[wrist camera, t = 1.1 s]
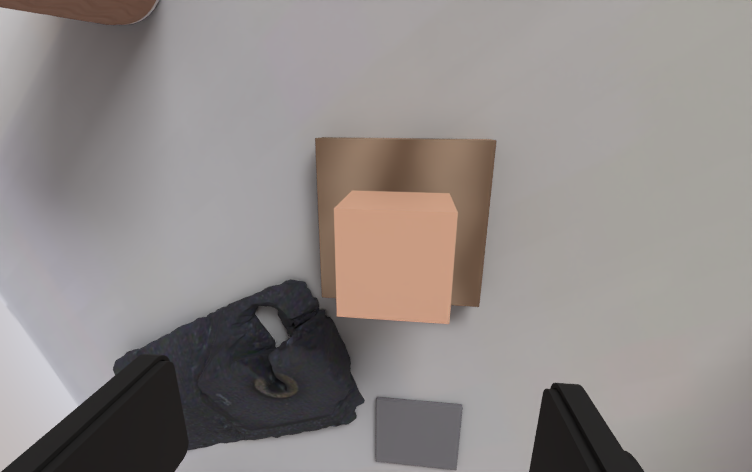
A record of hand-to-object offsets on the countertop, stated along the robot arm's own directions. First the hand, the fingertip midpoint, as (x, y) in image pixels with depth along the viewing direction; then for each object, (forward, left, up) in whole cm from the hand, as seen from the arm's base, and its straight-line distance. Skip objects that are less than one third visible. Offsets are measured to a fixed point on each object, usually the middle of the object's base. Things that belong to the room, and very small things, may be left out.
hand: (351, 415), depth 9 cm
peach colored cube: (0, 0, -15) cm, 15 cm away
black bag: (+14, +16, -20) cm, 29 cm away
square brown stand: (0, 0, -20) cm, 20 cm away
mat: (-2, +20, -20) cm, 28 cm away
